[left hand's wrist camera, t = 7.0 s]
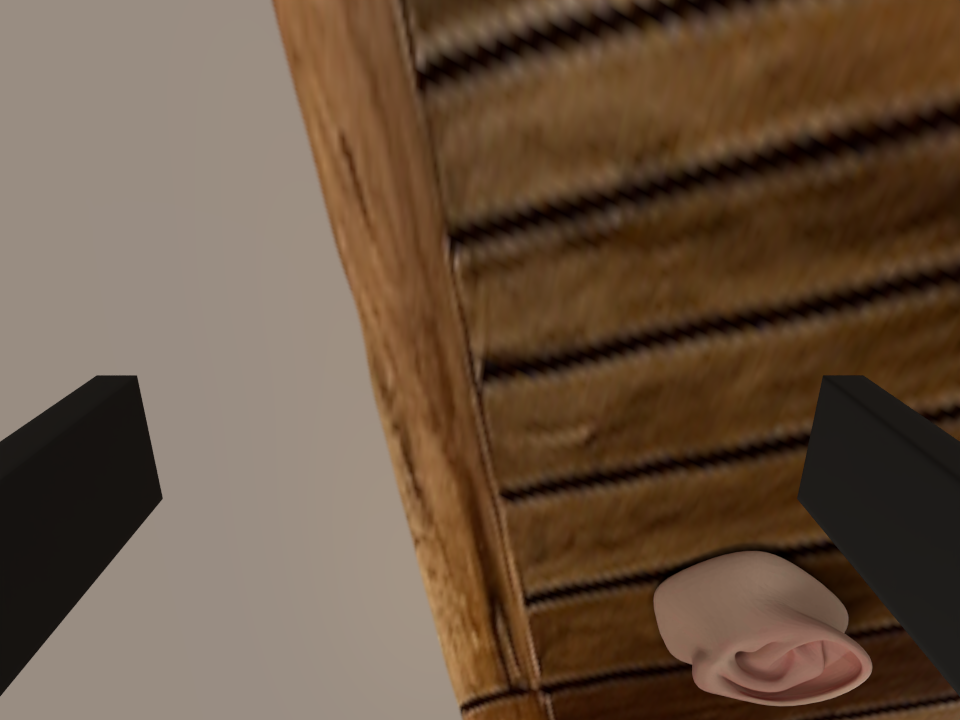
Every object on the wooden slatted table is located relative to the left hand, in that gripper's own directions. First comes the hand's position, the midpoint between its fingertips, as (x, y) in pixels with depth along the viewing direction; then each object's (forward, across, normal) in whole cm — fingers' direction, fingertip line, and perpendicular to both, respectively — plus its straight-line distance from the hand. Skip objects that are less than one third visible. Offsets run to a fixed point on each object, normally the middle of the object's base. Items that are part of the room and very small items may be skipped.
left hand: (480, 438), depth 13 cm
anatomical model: (+25, +19, -27) cm, 41 cm away
